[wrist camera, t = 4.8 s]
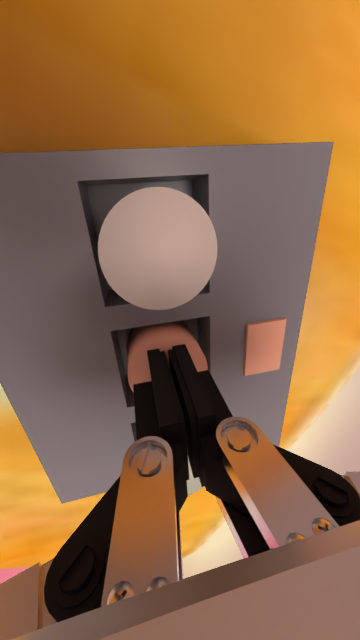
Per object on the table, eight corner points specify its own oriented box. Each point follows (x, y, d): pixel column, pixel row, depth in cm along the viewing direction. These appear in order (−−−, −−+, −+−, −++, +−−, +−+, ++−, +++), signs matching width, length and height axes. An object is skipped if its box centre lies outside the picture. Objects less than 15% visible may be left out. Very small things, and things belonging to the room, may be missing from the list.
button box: (-47, 170, 9) (-122, 155, 6) (285, 156, 11) (337, 140, 9) (71, 456, 17) (61, 507, 14) (256, 413, 19) (280, 449, 16)
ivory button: (94, 194, 8) (84, 190, 6) (194, 188, 9) (217, 182, 7) (113, 292, 10) (111, 317, 8) (197, 281, 11) (217, 302, 8)
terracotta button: (121, 321, 12) (121, 347, 10) (192, 310, 12) (206, 333, 10) (132, 378, 13) (134, 412, 11) (194, 366, 14) (207, 396, 12)
